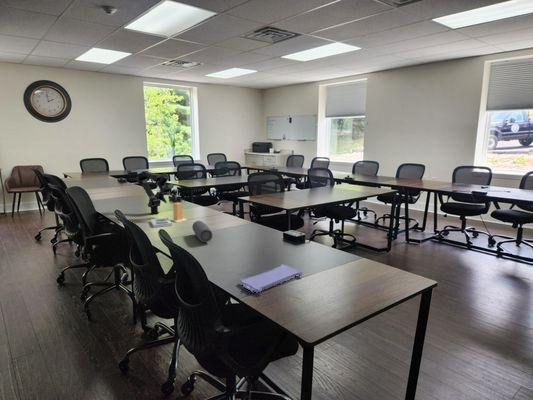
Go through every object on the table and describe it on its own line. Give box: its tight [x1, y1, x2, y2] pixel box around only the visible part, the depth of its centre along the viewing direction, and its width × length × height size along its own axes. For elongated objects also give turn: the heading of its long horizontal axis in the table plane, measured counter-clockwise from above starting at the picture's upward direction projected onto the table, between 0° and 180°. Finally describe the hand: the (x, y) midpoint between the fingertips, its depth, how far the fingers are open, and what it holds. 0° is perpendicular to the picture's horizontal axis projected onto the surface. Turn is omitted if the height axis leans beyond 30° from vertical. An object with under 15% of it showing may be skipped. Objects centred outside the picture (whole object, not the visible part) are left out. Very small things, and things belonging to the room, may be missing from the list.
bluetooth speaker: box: [191, 220, 213, 243], centre depth 216 cm, size 23×9×10 cm, turn 23°
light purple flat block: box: [238, 263, 303, 293], centre depth 156 cm, size 30×4×15 cm
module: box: [172, 202, 184, 221], centre depth 261 cm, size 5×5×13 cm
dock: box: [150, 217, 173, 228], centre depth 252 cm, size 18×13×2 cm
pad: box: [169, 217, 188, 223], centre depth 263 cm, size 10×10×1 cm
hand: (171, 202), depth 265 cm, fingers open, 9 cm apart
